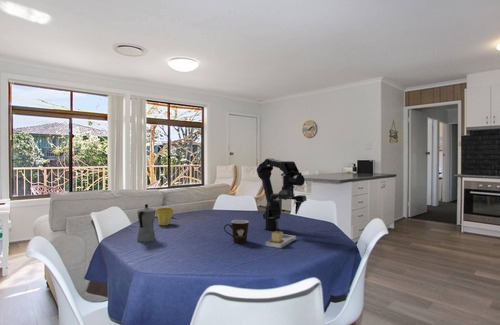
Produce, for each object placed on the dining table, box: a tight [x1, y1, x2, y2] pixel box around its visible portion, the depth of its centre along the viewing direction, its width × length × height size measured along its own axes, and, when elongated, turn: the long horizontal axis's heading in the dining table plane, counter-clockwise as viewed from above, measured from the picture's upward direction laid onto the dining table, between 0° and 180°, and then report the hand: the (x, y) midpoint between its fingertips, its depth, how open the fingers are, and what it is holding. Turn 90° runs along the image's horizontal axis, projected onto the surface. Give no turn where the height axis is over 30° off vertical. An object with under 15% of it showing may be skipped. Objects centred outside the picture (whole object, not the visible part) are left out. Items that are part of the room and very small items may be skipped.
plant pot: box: [155, 207, 174, 226], centre depth 183 cm, size 10×10×10 cm
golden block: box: [271, 230, 284, 243], centre depth 140 cm, size 4×4×6 cm
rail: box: [265, 233, 297, 249], centre depth 144 cm, size 8×18×2 cm, turn 149°
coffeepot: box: [136, 203, 156, 243], centre depth 147 cm, size 15×9×18 cm, turn 0°
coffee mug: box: [223, 219, 249, 244], centre depth 146 cm, size 12×9×10 cm
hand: (288, 213), depth 157 cm, fingers open, 9 cm apart
